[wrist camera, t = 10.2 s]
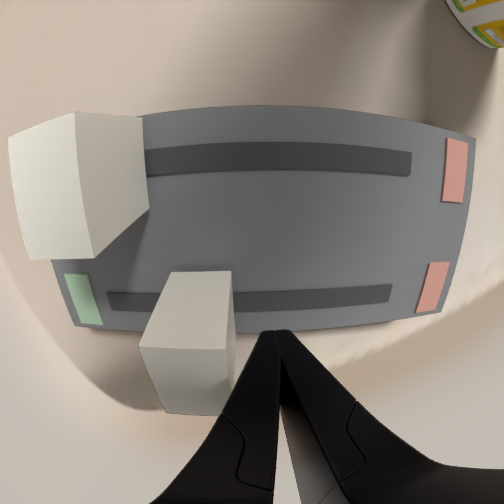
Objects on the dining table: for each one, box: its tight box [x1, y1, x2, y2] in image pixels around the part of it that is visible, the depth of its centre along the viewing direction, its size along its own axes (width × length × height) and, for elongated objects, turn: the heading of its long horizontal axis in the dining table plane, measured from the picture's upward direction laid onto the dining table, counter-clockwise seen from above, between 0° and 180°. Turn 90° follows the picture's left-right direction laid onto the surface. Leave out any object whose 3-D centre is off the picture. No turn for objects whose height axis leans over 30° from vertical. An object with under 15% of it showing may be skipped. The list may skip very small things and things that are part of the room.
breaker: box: [8, 112, 149, 260], centre depth 6 cm, size 2×3×4 cm
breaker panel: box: [51, 105, 476, 333], centre depth 10 cm, size 17×8×3 cm, turn 91°
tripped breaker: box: [138, 271, 236, 416], centre depth 8 cm, size 2×3×4 cm
